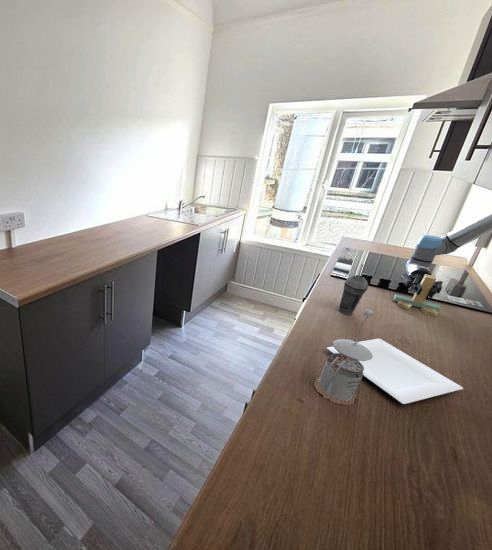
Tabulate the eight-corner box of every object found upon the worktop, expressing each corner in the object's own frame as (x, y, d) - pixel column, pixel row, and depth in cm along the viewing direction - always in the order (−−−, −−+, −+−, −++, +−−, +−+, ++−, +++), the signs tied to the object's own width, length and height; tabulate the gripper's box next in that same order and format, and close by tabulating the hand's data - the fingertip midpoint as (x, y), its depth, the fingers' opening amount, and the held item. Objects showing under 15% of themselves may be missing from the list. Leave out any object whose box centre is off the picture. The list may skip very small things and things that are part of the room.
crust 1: (411, 307, 122) (412, 304, 121) (408, 310, 120) (409, 306, 119) (399, 303, 125) (400, 300, 124) (395, 305, 123) (397, 302, 122)
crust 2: (433, 312, 119) (434, 308, 119) (437, 316, 116) (438, 313, 115) (420, 309, 121) (422, 306, 120) (423, 314, 118) (425, 310, 117)
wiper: (437, 309, 121) (454, 280, 114) (437, 313, 119) (455, 283, 112) (393, 298, 128) (407, 270, 121) (393, 301, 126) (407, 273, 119)
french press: (364, 396, 77) (405, 315, 66) (340, 414, 71) (380, 328, 61) (325, 372, 85) (356, 296, 74) (301, 387, 79) (331, 306, 69)
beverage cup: (337, 314, 115) (356, 267, 106) (332, 305, 121) (349, 260, 113) (359, 318, 113) (380, 270, 104) (352, 309, 119) (371, 263, 111)
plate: (400, 409, 73) (404, 403, 73) (324, 352, 93) (326, 347, 92) (460, 393, 79) (464, 387, 78) (377, 342, 99) (379, 337, 98)
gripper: (439, 287, 129) (449, 308, 112) (392, 277, 138) (395, 295, 121) (448, 272, 126) (459, 291, 109) (399, 262, 135) (403, 278, 118)
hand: (425, 293), depth 115 cm, fingers closed on wiper, 3 cm apart
